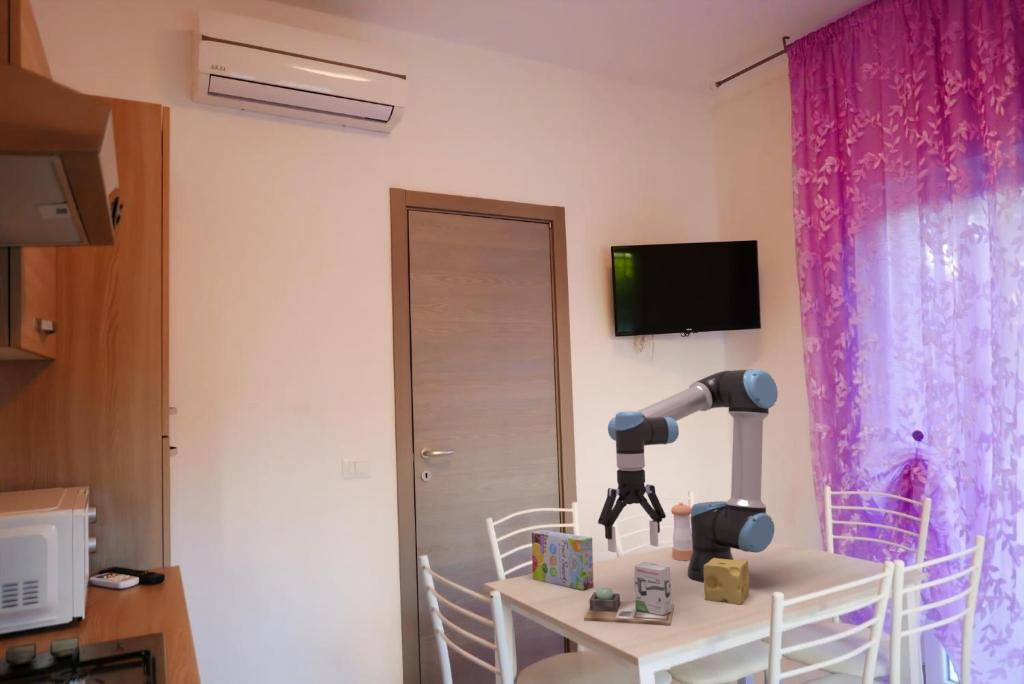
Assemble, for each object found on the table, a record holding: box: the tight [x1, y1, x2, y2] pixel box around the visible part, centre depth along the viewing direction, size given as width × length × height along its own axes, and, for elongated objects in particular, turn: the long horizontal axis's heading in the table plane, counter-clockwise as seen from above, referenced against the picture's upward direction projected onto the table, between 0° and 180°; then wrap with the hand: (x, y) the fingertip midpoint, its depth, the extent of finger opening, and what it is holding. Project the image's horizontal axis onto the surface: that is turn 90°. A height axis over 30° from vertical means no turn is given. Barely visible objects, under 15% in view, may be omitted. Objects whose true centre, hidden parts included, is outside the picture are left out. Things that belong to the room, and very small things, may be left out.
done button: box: [596, 587, 614, 600], centre depth 196 cm, size 4×4×3 cm
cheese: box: [703, 558, 750, 606], centre depth 204 cm, size 10×11×10 cm
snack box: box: [531, 529, 594, 591], centre depth 224 cm, size 21×6×15 cm, turn 45°
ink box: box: [634, 561, 672, 615], centre depth 191 cm, size 9×5×12 cm, turn 50°
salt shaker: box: [670, 502, 693, 561], centre depth 251 cm, size 7×7×19 cm
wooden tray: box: [583, 592, 675, 626], centre depth 192 cm, size 22×16×3 cm
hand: (633, 548), depth 193 cm, fingers open, 13 cm apart
